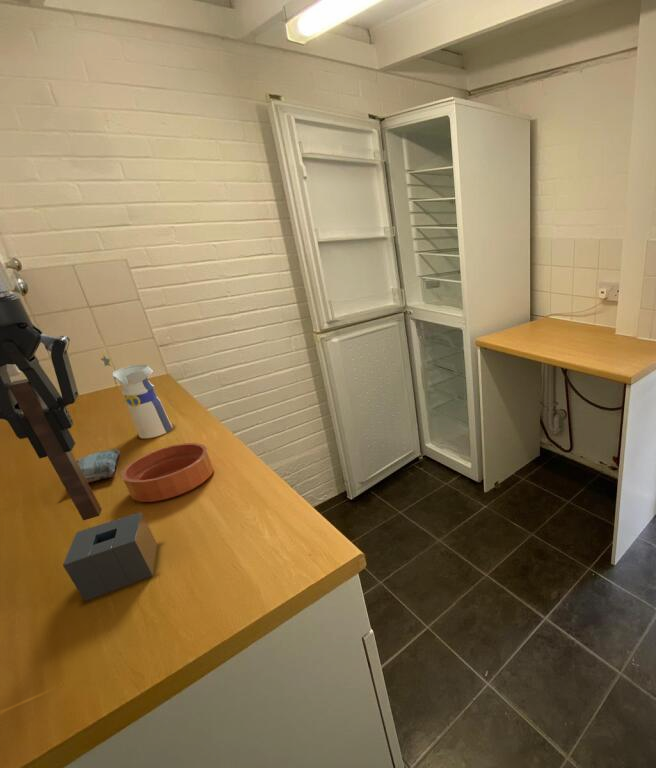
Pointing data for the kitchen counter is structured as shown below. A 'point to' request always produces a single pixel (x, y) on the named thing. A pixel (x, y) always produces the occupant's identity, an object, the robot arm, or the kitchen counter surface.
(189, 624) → the kitchen counter surface
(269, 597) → the kitchen counter surface
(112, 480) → the kitchen counter surface
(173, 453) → the bowl
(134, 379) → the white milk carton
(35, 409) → the wooden stick
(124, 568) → the stick holder
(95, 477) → the packaged food
